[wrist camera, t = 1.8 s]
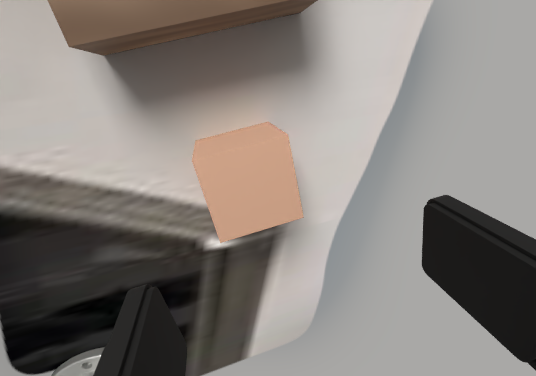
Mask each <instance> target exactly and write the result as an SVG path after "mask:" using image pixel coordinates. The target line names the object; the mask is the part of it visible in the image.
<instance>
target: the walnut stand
mask: <svg viewBox="0 0 536 376" xmlns="http://www.w3.org/2000/svg"><path fill="white" fill-rule="evenodd" d="M316 1H317V0H48V2H49V4H50V7H51V9H52V11H53V13H54V15H55V17H56V20H57V22H58V24H59V26H60V28H61V31H62V33H63V35H64V37H65V39H66V41H67V44H68V46H69V47H72V48H76V49H80V50H84V51H88V52H92V53H96V54H100V55H108V54H113V53H117V52H122V51H126V50H131V49H136V48H140V47H145V46H149V45H154V44H159V43H163V42H168V41H172V40H177V39H182V38H186V37H191V36H195V35H200V34H205V33H209V32H214V31H218V30H223V29H228V28H232V27H237V26H241V25H246V24H251V23H255V22H260V21H264V20H269V19H273V18H278V17H283V16H287V15H292V14H296V13H301V12H302V11H303V10H305V9H306V8H308V7H309V6H310V5H312V4H313V3H314V2H316Z"/></svg>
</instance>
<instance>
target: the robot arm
mask: <svg viewBox="0 0 536 376" xmlns="http://www.w3.org/2000/svg"><path fill="white" fill-rule="evenodd" d="M422 267H423V270H424V271H425V273H426V274H427V275H428V276H429V277H430V278H431V279H432V280H433V281H434V282H436V283H437V284H438V285H439V286H440V287H441V288H442V289H443V290H444V291H445V292H446V293H447V294H448V295H449V296H451V297H452V298H453V299H454V300H455V301H456V302H457V303H458V304H459V305H460V306H461V307H462V308H464V309H465V310H466V311H467V312H468V313H469V314H470V315H471V316H472V317H473V318H474V319H475V320H477V322H479V323H480V324H481V325H482V326H483V327H484V328H485V329H486V330H487V331H488V332H489V333H490V334H492V335H493V336H494V337H495V338H496V339H497V340H498V341H499V342H500V343H501V344H502V345H503V346H504V347H506V348H507V349H508V350H509V351H510V352H511V353H512V354H513V355H514V356H516V357H517V358H518V359H519V360H521V361H523V362H527V363H529V365H531V366H532V367H533V368H534V369H535V370H536V239H534V238H532V237H529V236H528V235H525V234H524V233H522V232H520V231H518V230H516V229H514V228H512V227H510V226H508V225H506V224H504V223H502V222H500V221H498V220H496V219H494V218H492V217H490V216H488V215H486V214H484V213H483V212H481V211H479V210H477V209H474V208H473V207H470V206H469V205H467V204H465V203H462V202H461V201H459V200H457V199H455V198H453V197H451V196H449V195H443V196H440V197H436V198H433V199H430V200H429V201H428V202H427V205H425V207H424V217H423V245H422ZM186 359H187V347H186V342H185V340H184V338H183V336H182V334H181V332H180V330H179V328H178V326H177V324H176V322H175V321H174V319H173V317H172V315H171V313H170V311H169V309H168V307H167V305H166V303H165V301H164V299H163V297H162V295H161V293H160V291H159V290H158V288H157V287H153V288H152V287H151V285H149V284H147V285H143V286H140V287H137V288H133V289H130V290H129V291H128V293H127V295H126V298H125V300H124V303H123V306H122V308H121V311H120V313H119V316H118V319H117V321H116V324H115V327H114V329H113V332H112V335H111V337H110V340H109V342H108V344H107V345H106V346H105V347H103V348H97V349H94V350H90V351H87V352H83V353H81V354H79V355H77V356H75V357H72V358H71V359H69V360H68V361H66V362H65V363H63V364H61V365H60V366H59V367H58V368H57V369H56V370H55V371H54V372H53V374H52V376H185V371H186Z"/></svg>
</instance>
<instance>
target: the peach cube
mask: <svg viewBox="0 0 536 376" xmlns="http://www.w3.org/2000/svg"><path fill="white" fill-rule="evenodd" d="M192 162H193V165H194V168H195V171H196V174H197V176H198V179H199V182H200V185H201V188H202V191H203V194H204V197H205V200H206V202H207V205H208V208H209V211H210V214H211V217H212V220H213V223H214V226H215V228H216V231H217V234H218V237H219V240H220V243H222V242H225V241H228V240H232V239H235V238H238V237H241V236H245V235H248V234H251V233H254V232H258V231H261V230H264V229H268V228H271V227H274V226H277V225H281V224H284V223H287V222H290V221H294V220H297V219H300V218H304V217H303V212H302V206H301V201H300V196H299V190H298V185H297V180H296V174H295V169H294V164H293V158H292V153H291V148H290V142H289V137H288V134H286V133H285V132H283V131H282V130H280V129H278V128H277V127H275V126H274V125H272V124H271V123H269V122H265V123H261V124H258V125H254V126H250V127H246V128H242V129H238V130H234V131H231V132H227V133H223V134H219V135H215V136H211V137H208V138H204V139H200V140H196V141H195V146H194V152H193V157H192Z"/></svg>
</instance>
